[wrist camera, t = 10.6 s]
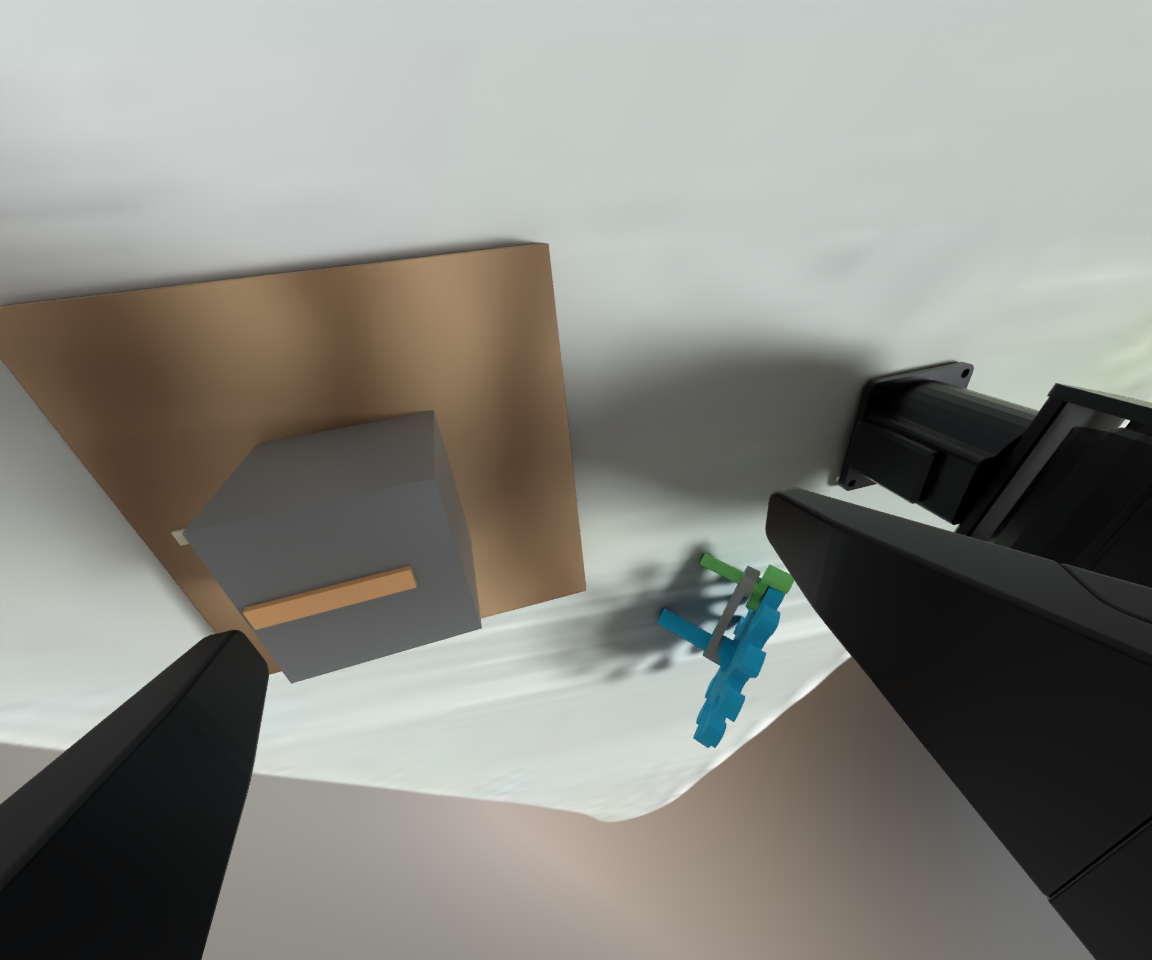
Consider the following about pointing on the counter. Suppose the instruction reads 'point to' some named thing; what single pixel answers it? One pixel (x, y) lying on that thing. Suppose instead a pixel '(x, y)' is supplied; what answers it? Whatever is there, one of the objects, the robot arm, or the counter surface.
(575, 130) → the counter surface
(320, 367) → the plate
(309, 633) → the grey box with handle
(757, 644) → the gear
